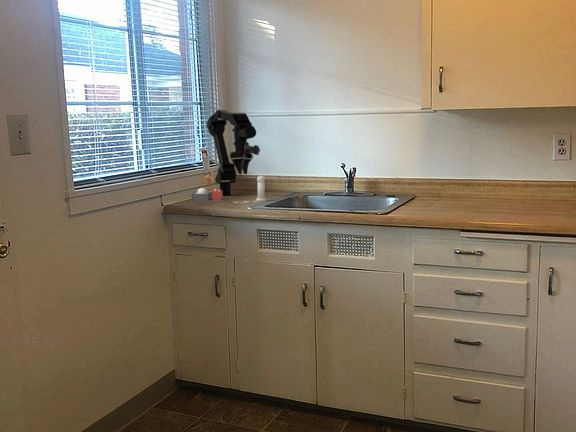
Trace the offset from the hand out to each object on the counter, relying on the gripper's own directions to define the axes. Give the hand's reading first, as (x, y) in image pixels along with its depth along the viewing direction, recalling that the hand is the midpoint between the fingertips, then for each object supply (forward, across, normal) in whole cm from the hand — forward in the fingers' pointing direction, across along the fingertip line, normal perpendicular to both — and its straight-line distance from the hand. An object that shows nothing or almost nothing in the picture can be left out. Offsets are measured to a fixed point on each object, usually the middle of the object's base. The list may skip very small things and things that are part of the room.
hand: (243, 174), depth 295 cm
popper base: (+12, -9, +14) cm, 21 cm away
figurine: (+11, +1, +17) cm, 20 cm away
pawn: (+13, -8, -10) cm, 18 cm away
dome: (+10, -10, +17) cm, 22 cm away
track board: (+14, -11, -5) cm, 18 cm away
